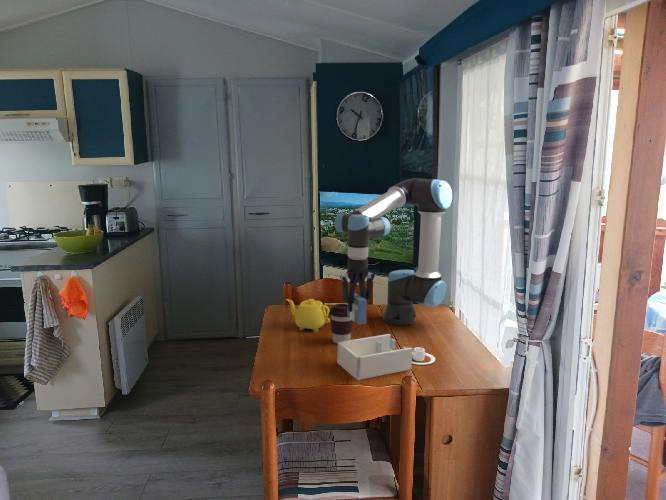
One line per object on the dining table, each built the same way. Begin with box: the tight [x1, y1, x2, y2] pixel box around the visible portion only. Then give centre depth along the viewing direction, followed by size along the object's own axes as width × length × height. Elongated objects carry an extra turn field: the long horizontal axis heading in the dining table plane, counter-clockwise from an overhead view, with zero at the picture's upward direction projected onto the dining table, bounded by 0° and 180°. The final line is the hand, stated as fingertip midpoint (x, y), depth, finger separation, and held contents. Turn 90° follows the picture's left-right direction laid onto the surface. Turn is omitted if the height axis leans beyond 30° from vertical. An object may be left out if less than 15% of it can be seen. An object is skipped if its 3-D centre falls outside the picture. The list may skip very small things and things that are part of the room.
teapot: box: [285, 298, 331, 333], centre depth 239 cm, size 14×20×13 cm
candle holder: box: [412, 346, 436, 366], centre depth 207 cm, size 12×12×4 cm
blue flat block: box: [346, 292, 368, 325], centre depth 203 cm, size 3×10×9 cm, turn 24°
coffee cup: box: [329, 303, 353, 344], centre depth 222 cm, size 10×10×15 cm
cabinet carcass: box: [336, 333, 413, 381], centre depth 199 cm, size 22×16×8 cm
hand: (356, 318), depth 204 cm, fingers closed on blue flat block, 3 cm apart
